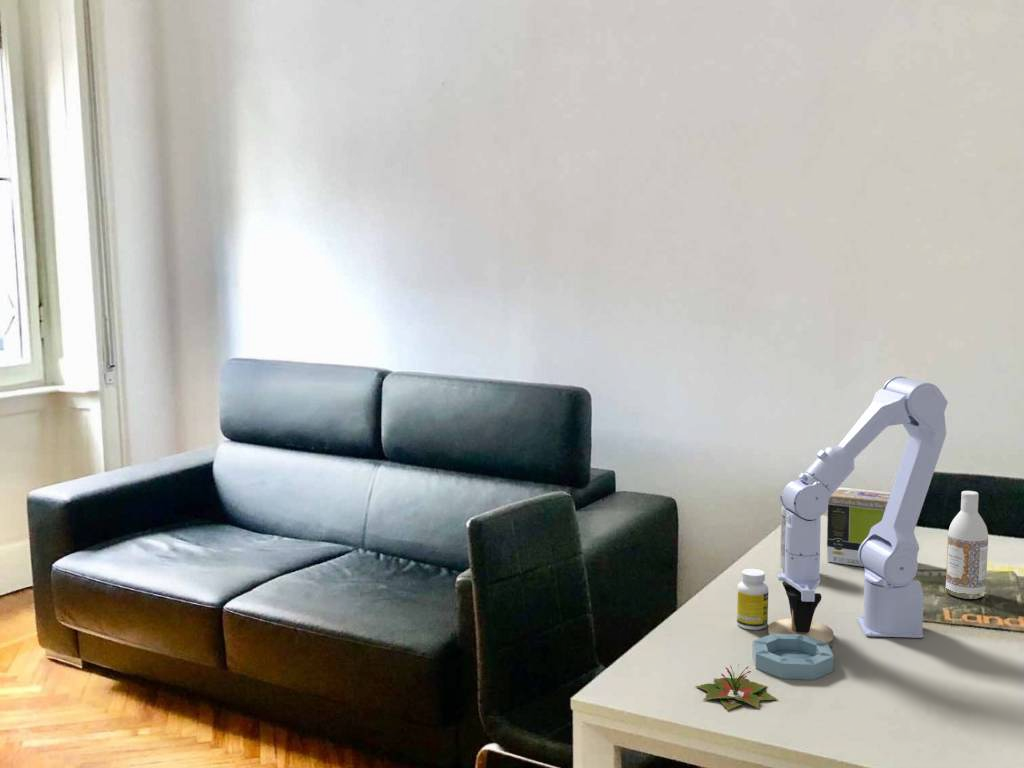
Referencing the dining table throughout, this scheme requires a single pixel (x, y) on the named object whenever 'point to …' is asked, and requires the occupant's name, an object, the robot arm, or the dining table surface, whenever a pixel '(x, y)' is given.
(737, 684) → the lily flower
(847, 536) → the tea box
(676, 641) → the dining table surface
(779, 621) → the lid
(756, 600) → the supplement bottle
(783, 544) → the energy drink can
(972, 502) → the bath foam
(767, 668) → the bowl
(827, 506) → the robot arm
